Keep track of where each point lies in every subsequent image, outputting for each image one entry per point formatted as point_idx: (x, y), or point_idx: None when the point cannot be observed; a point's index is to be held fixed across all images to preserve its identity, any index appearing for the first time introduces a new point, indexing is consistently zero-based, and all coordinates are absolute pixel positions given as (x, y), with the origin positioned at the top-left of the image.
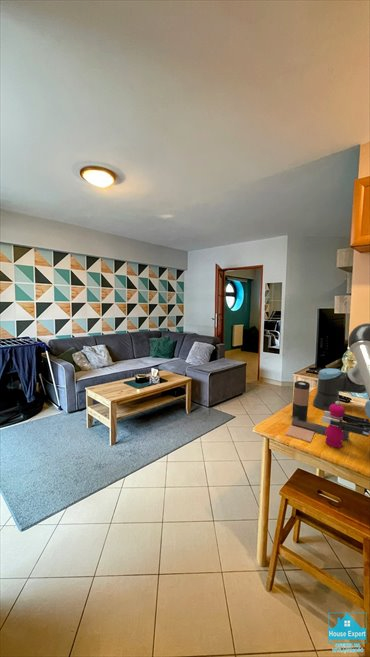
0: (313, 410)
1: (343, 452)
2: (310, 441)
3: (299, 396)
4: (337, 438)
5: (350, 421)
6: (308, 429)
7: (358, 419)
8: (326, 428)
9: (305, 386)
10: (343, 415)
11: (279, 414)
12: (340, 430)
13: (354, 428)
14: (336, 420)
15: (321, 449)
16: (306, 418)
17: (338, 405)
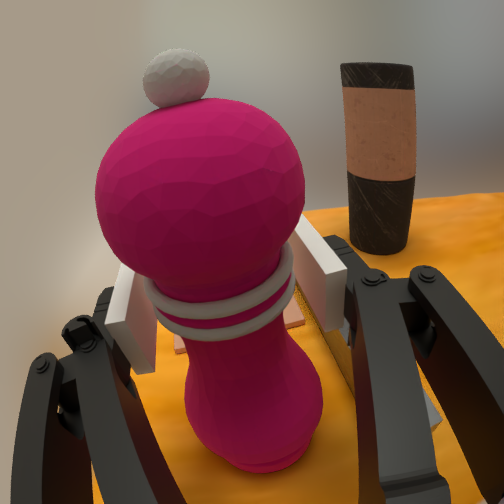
0: (487, 229)
1: (196, 499)
2: (174, 348)
3: (349, 127)
4: (196, 433)
5: (361, 412)
6: (303, 295)
7: (412, 490)
8: (340, 331)
9: (364, 70)
10: (364, 293)
11: (330, 209)
12: (218, 412)
13: (21, 490)
14: (110, 308)
15: (143, 405)
16: (395, 246)
17: (155, 112)
